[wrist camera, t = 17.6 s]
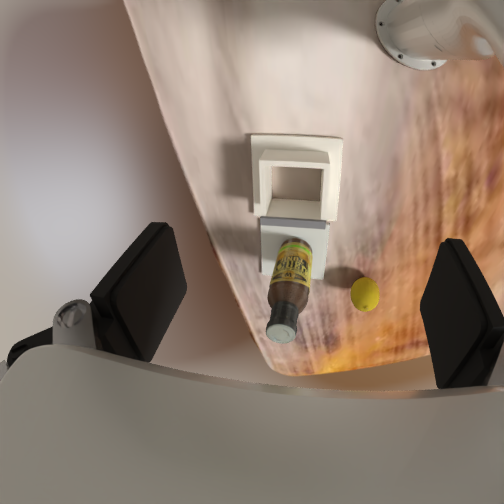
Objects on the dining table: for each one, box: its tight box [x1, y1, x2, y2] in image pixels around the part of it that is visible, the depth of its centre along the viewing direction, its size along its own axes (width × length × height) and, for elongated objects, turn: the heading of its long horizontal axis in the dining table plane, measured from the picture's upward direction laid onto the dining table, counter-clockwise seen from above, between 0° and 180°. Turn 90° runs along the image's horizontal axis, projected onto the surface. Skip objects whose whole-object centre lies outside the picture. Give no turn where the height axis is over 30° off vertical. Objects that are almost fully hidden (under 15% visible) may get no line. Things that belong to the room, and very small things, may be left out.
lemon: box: [351, 277, 379, 312], centre depth 52 cm, size 6×6×8 cm
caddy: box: [251, 134, 343, 229], centre depth 44 cm, size 14×14×8 cm
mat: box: [261, 223, 330, 279], centre depth 54 cm, size 12×12×1 cm
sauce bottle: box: [266, 238, 313, 343], centre depth 46 cm, size 6×6×20 cm
